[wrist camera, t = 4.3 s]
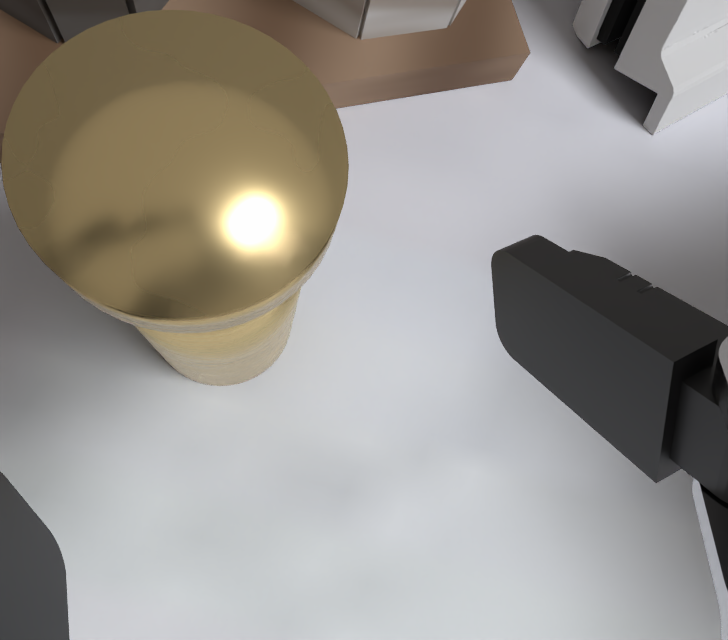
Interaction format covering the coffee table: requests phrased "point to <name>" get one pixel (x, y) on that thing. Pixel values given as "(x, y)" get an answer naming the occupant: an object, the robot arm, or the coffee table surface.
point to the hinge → (664, 50)
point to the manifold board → (306, 40)
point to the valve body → (180, 182)
